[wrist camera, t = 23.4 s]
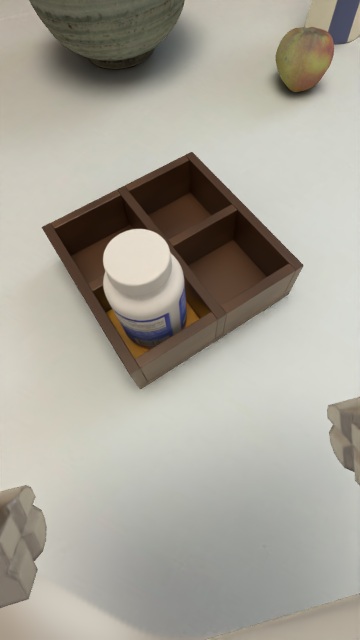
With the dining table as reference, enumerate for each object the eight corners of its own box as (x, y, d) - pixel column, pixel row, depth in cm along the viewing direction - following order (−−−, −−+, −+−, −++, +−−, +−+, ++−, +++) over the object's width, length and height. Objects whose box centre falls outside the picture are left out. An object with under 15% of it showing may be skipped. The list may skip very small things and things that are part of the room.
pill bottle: (152, 282, 30) (133, 203, 21) (200, 316, 28) (201, 246, 19) (110, 326, 28) (70, 261, 19) (158, 364, 26) (138, 312, 18)
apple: (304, 113, 39) (322, 56, 34) (259, 81, 42) (268, 24, 37) (340, 92, 40) (362, 34, 35) (294, 63, 43) (308, 5, 38)
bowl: (80, 119, 41) (46, 18, 31) (28, 40, 49) (-11, -59, 39) (224, 63, 44) (230, -43, 35) (153, -3, 52) (144, -103, 43)
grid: (140, 389, 26) (129, 374, 22) (61, 258, 32) (41, 227, 28) (288, 294, 29) (304, 265, 25) (192, 189, 35) (192, 151, 31)
